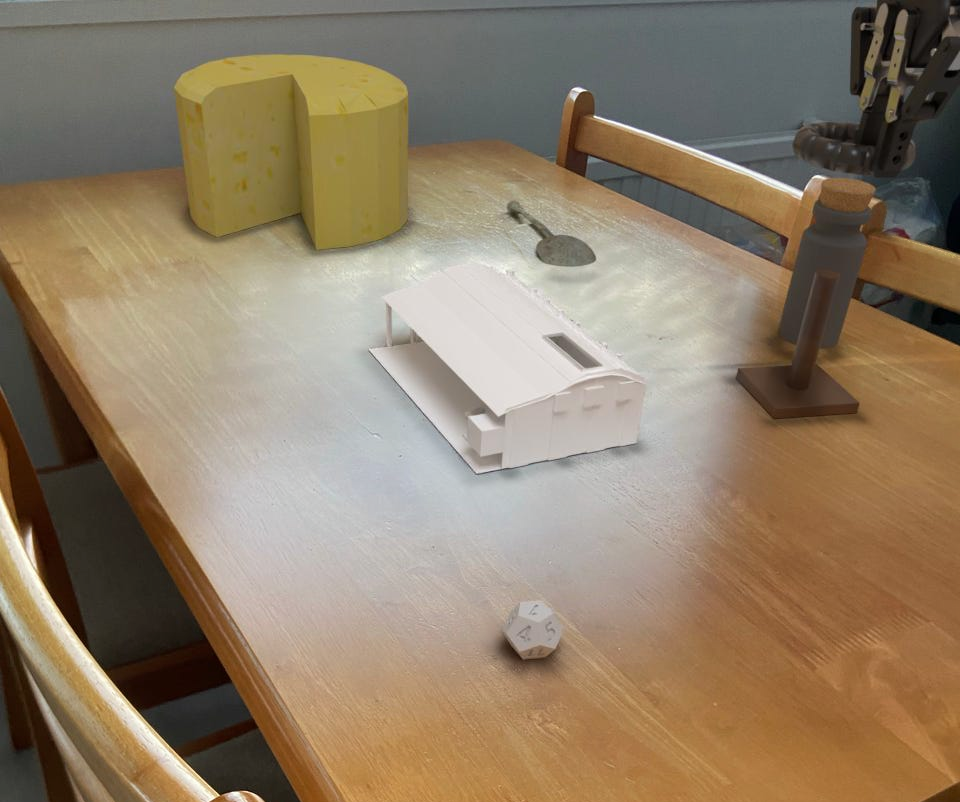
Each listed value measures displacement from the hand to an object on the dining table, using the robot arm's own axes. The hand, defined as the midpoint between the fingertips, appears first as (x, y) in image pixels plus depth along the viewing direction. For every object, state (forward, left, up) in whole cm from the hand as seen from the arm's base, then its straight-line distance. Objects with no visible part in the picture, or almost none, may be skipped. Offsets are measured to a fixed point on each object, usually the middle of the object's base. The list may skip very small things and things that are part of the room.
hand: (873, 169), depth 77 cm
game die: (+33, +28, -20) cm, 48 cm away
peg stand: (0, -2, -20) cm, 20 cm away
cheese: (+39, -56, -20) cm, 71 cm away
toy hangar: (+27, -6, -20) cm, 34 cm away
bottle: (-6, -12, -20) cm, 24 cm away
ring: (0, -4, +1) cm, 4 cm away
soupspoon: (+12, -43, -20) cm, 49 cm away
